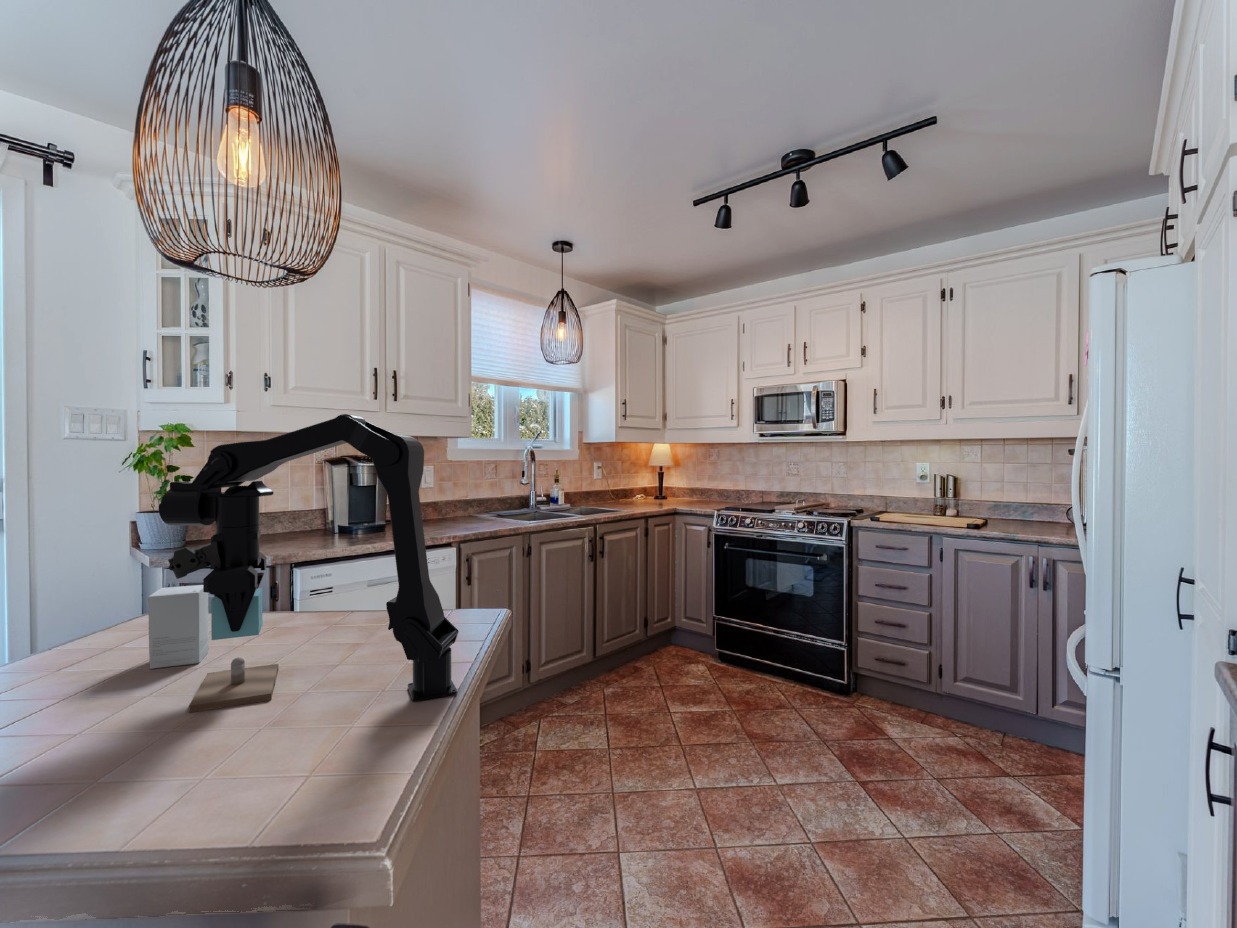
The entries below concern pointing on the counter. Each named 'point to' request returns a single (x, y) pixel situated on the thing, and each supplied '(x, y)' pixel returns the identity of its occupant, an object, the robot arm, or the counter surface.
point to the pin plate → (235, 686)
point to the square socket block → (250, 623)
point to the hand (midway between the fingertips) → (238, 625)
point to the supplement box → (178, 626)
